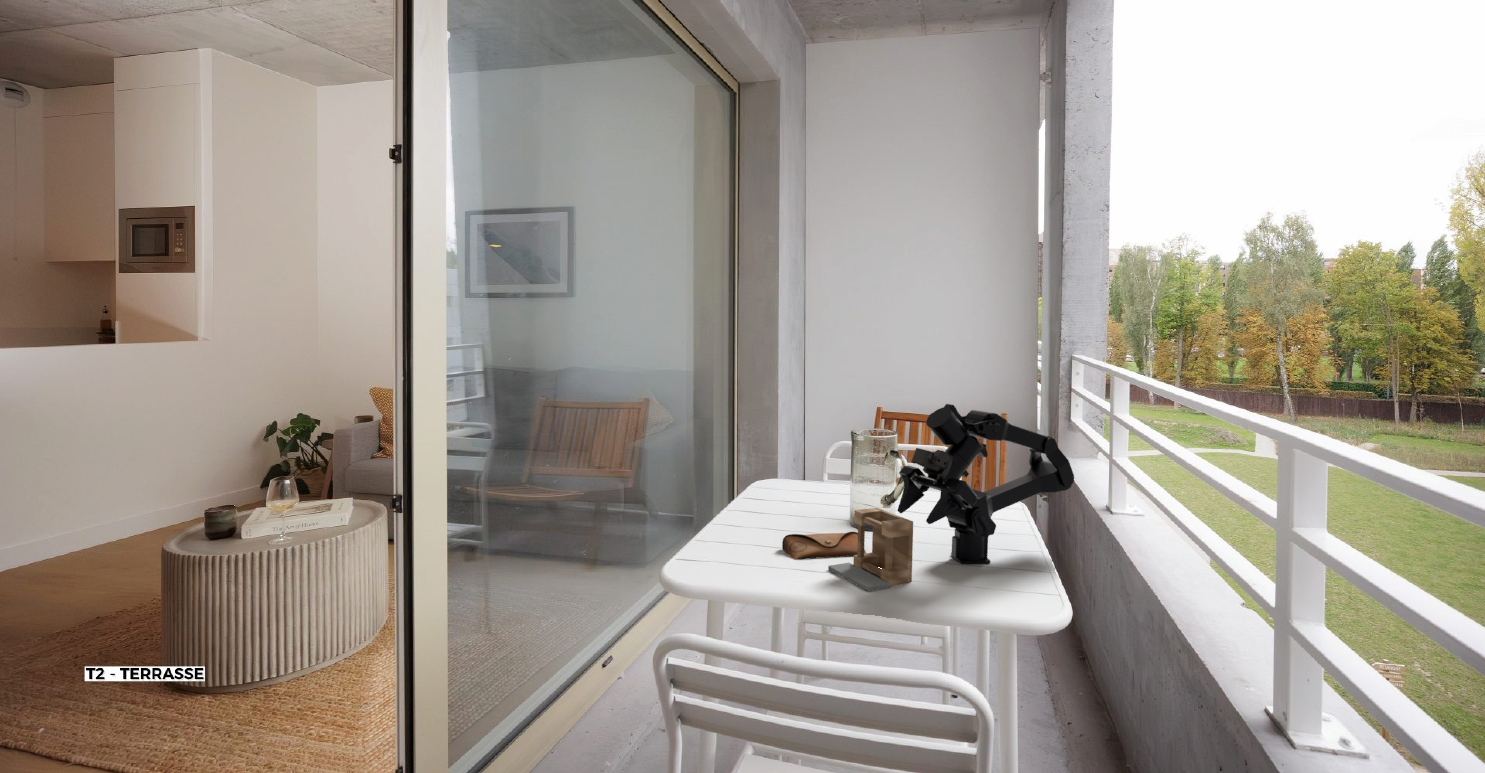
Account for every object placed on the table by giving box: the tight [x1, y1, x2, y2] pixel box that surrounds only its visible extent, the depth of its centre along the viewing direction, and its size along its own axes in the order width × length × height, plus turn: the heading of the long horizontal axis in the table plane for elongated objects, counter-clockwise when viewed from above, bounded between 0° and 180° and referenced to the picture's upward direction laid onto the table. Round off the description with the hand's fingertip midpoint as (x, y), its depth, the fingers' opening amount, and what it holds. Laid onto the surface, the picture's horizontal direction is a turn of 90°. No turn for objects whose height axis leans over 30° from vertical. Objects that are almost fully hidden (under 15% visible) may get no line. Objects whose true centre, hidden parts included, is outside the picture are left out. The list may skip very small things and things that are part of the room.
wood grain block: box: [852, 507, 914, 586], centre depth 155 cm, size 6×12×12 cm, turn 26°
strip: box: [827, 562, 891, 592], centre depth 153 cm, size 5×14×1 cm, turn 26°
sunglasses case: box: [781, 531, 867, 561], centre depth 171 cm, size 18×7×7 cm, turn 103°
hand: (913, 517), depth 158 cm, fingers open, 9 cm apart
